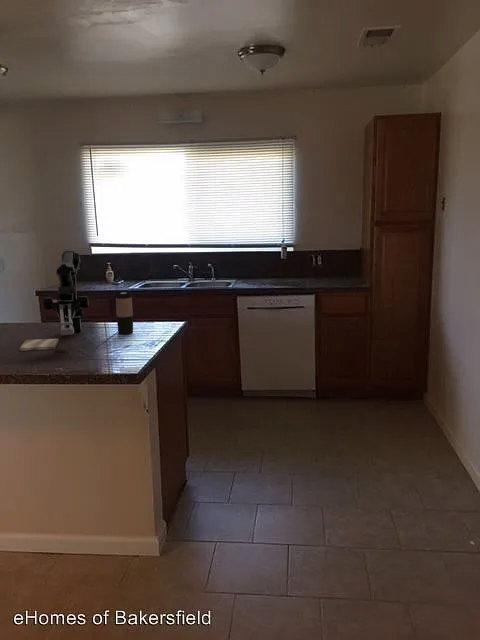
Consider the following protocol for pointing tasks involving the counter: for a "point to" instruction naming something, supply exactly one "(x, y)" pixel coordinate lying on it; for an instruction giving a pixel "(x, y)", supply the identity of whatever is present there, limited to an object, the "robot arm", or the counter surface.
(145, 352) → the counter surface
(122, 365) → the counter surface
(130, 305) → the travel mug
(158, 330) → the counter surface
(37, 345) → the plate
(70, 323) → the two-prong grey stand
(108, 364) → the counter surface
